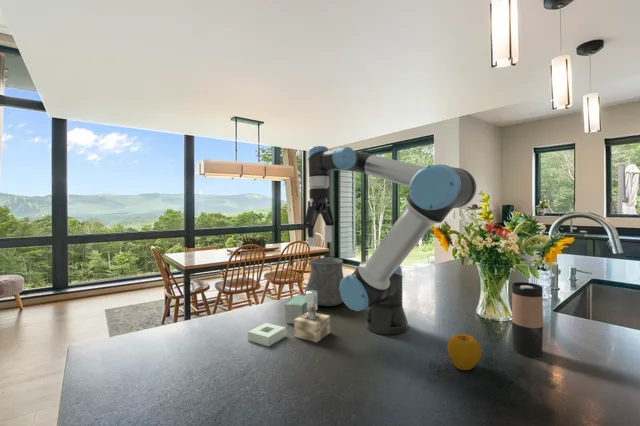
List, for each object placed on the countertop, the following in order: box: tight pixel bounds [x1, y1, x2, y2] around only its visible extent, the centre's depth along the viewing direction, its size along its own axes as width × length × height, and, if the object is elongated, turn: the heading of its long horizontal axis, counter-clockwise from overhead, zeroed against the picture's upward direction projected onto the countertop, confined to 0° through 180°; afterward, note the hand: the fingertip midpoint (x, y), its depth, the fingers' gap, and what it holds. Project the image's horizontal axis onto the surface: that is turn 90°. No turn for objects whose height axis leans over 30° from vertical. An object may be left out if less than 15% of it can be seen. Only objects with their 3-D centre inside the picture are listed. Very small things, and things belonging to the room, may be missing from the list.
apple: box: [446, 333, 483, 371], centre depth 84 cm, size 8×8×9 cm
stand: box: [247, 322, 287, 347], centre depth 105 cm, size 9×9×3 cm
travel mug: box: [511, 281, 544, 358], centre depth 92 cm, size 8×8×20 cm
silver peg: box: [306, 290, 319, 321], centre depth 107 cm, size 4×4×14 cm
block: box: [293, 312, 331, 343], centre depth 107 cm, size 9×9×6 cm
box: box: [284, 294, 308, 325], centre depth 124 cm, size 7×14×8 cm, turn 165°
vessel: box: [303, 257, 345, 307], centre depth 141 cm, size 22×22×20 cm
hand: (320, 244), depth 117 cm, fingers open, 13 cm apart
